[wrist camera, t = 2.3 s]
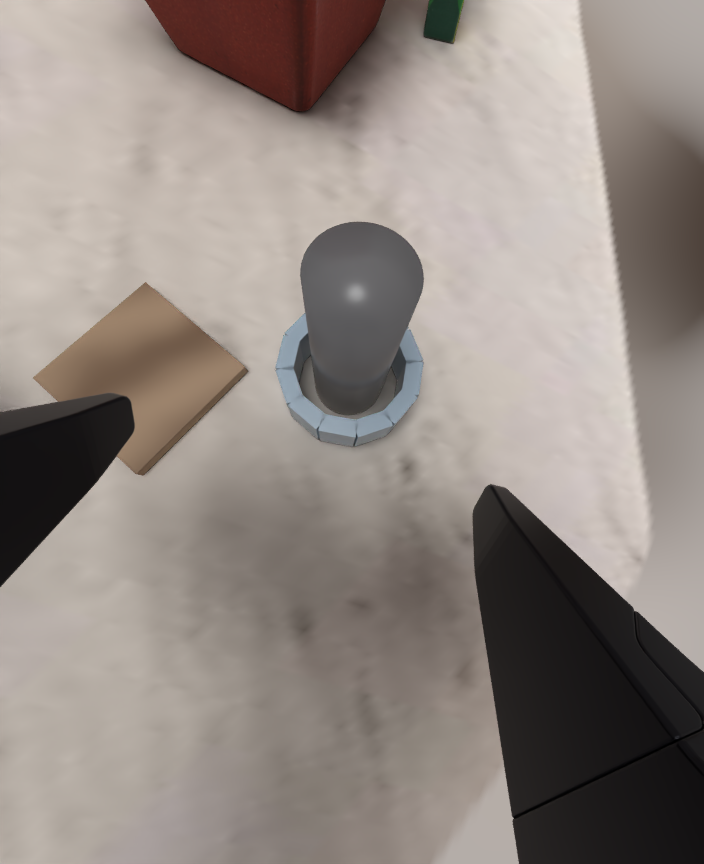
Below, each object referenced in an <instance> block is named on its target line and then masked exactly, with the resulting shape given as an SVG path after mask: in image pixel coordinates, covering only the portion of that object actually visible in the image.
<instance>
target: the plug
mask: <svg viewBox="0 0 704 864" xmlns="http://www.w3.org/2000/svg"><path fill="white" fill-rule="evenodd" d="M300 277H301V284H302V292H303V299H304V306H305V314H306V321H307V329H308V336H309V343H310V351H311V358H312V365H313V373H314V380H315V388H316V392H317V395H318V397H319V399H320V400H321V402H322V403H323V404H324V405H325V406H326V407H327V408H329V409H330V410H332V411H333V412H336V413H339V414H343V415H354V414H359V413H361V412H364V411H365V410H367V409H368V408H370V407H371V406H372V405H373V404H374V403H375V401H376V400H377V398H378V396H379V394H380V391H381V389H382V386H383V384H384V382H385V379H386V377H387V374H388V372H389V370H390V367H391V365H392V363H393V360H394V358H395V355H396V353H397V351H398V348H399V346H400V343H401V341H402V339H403V336H404V334H405V332H406V329H407V327H408V324H409V322H410V320H411V317H412V315H413V313H414V310H415V308H416V305H417V303H418V301H419V298H420V296H421V293H422V289H423V281H424V277H423V269H422V265H421V262H420V259H419V257H418V255H417V253H416V252H415V250H414V249H413V247H412V246H411V245H410V244H409V243H408V242H407V241H406V240H405V239H404V238H403V237H402V236H401V235H399V234H398V233H396V232H395V231H393V230H391V229H389V228H387V227H384V226H381V225H378V224H374V223H368V222H349V223H344V224H340V225H337V226H334V227H332V228H330V229H328V230H326V231H325V232H323V233H321V234H320V235H319V236H318V237H317V238H316V239H315V240H314V241H313V242H312V243H311V244H310V246H309V247H308V248H307V250H306V252H305V254H304V257H303V260H302V263H301V272H300Z"/></svg>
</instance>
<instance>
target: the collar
mask: <svg viewBox="0 0 704 864" xmlns="http://www.w3.org/2000/svg"><path fill="white" fill-rule="evenodd" d="M408 328H409V327H407V329H406V332H405V334H404V336H403V339H402V341H401V343H400V346H399V348H398V351H397V353H396V355H395V358H394V360H393V363H392V365H391V367H392V369H393V372H394V374H395V377H396V379H397V384H396V390H395V396H394V399H393V400H392V401H391V403H390V404H389V405H388V406H387V407H386V408H385V409H384V411H381V412H378V413H375V414H372V415H369V416H366V417H363V418H360V419H357V420H353V419H348V418H343V417H337V416H332V415H327V414H325V413H323V412H322V411H321V410H320V409H319V408H317V407H316V406H315V405H314V404H313V403H312V402H310V401H309V400H308V399H307V398H306V397H304V396H303V395H302V392H301V389H300V386H299V381H300V376H301V372H302V368H303V363H304V361H305V360H306V359H307V358H308V357H309V356H310V355H311V351H310V343H309V336H308V329H307V321H306V314H305V313H304V314H303V315H302V316H301V317H300V318H299V319H298V320H297V321H296V322H295V323H294V324H293V325H292V326H291V327H290V328H289V329H288V330H287V331H286V332H285V335H283V339H282V343H281V347H280V351H279V355H278V360H277V364H276V373H277V376H278V379H279V382H280V385H281V388H282V391H283V394H284V397H285V400H286V403H287V406H288V408H289V410H290V412H291V415H292V417H293V418H294V420H296V421H297V422H298V423H299V424H300V425H301V426H303V427H304V428H305V429H306V430H307V431H308V432H310V433H311V434H312V435H313V436H314V437H315V438H317V439H319V438H320V441H324V442H329V443H334V444H340V445H345V446H350V447H353V444H354V446H358V445H361V444H364V443H367V442H370V441H373V440H376V439H379V438H382V437H384V436H386V435H387V434H388V433H389V432H390V431H391V430H392V428H393V427H394V426H395V425H396V424H397V422H398V421H399V420H400V419H401V418H402V417H403V415H404V414H405V413H406V412H407V411H408V409H409V408H410V407H411V405H412V404H413V403H414V402H415V400H416V399H417V398H418V396H419V390H420V383H421V376H422V369H423V362H422V361H423V358H422V356H421V354H420V351H419V349H418V346H417V344H416V342H415V339H414V337H413V335H412V332H411V330H410V329H409V330H408Z"/></svg>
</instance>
